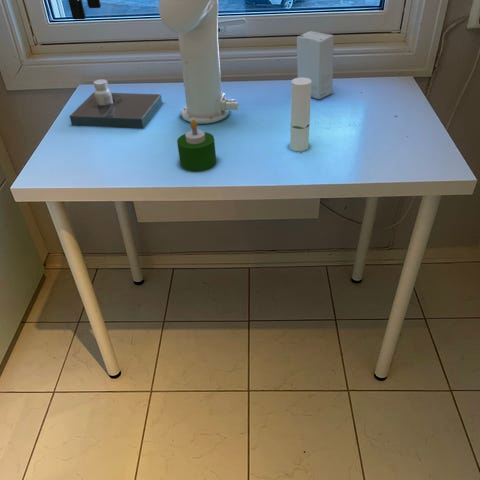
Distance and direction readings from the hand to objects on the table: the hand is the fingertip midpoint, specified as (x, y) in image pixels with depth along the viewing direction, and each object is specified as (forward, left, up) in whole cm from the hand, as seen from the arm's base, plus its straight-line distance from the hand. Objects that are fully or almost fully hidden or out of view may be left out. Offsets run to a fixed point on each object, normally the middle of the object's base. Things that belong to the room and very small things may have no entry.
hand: (87, 13), depth 129 cm
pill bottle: (-1, +3, -23) cm, 24 cm away
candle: (-34, +29, -23) cm, 50 cm away
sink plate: (-5, +5, -23) cm, 24 cm away
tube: (-56, +19, -23) cm, 63 cm away
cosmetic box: (-56, -13, -23) cm, 62 cm away
